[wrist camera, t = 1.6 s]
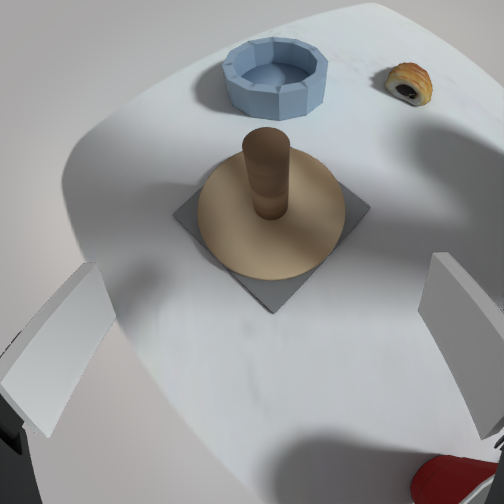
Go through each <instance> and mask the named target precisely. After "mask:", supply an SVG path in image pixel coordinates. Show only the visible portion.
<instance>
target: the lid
mask: <svg viewBox="0 0 504 504" xmlns="http://www.w3.org/2000/svg"><path fill="white" fill-rule="evenodd" d="M242 149H243V151H242V152H240V153H237V154H235V155H233V156H232V157H230V158H228V159H227V160H226V161H224V162H223V163H222V164H220V165H219V166H218V167H217V168H216V169H215V170H214V171H213V173H212V174H211V175H210V176H209V178H208V179H207V181H206V183H205V184H204V187H203V189H202V191H201V194H200V197H199V202H198V208H197V217H198V224H199V228H200V232H201V235H202V237H203V239H204V241H205V243H206V245H207V246H208V248H209V249H210V251H211V252H212V254H213V255H214V256H215V257H216V258H217V259H218V260H219V261H220V262H221V263H222V264H223V265H225V266H226V267H227V268H229V269H230V270H232V271H234V272H236V273H238V274H240V275H242V276H245V277H248V278H251V279H256V280H262V281H279V280H286V279H290V278H294V277H297V276H300V275H302V274H304V273H306V272H308V271H310V270H312V269H313V268H315V267H316V266H318V265H319V264H320V263H321V262H322V261H323V260H324V259H325V258H326V257H327V256H328V255H329V254H330V253H331V251H332V250H333V248H334V247H335V245H336V243H337V241H338V239H339V237H340V235H341V232H342V230H343V226H344V221H345V202H344V197H343V194H342V191H341V188H340V186H339V184H338V182H337V180H336V179H335V177H334V176H333V174H332V173H331V172H330V171H329V170H328V169H327V168H326V166H325V165H323V164H322V163H321V162H320V161H318V160H317V159H315V158H314V157H312V156H311V155H309V154H307V153H305V152H302V151H300V150H297V149H293V148H290V141H289V139H288V137H287V136H286V134H285V133H283V132H282V131H280V130H278V129H276V128H271V127H262V128H258V129H255V130H253V131H251V132H250V133H249V134H247V136H246V137H245V138H244V140H243V143H242Z"/></svg>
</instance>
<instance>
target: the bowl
mask: <svg viewBox="0 0 504 504" xmlns="http://www.w3.org/2000/svg"><path fill="white" fill-rule="evenodd" d="M327 68H328V60H327V59H326V58H325V57H324V56H323V54H322V53H321V52H320V51H319V50H318V49H317V48H316V47H314V46H311V45H309V44H307V43H304V42H302V41H300V40H297V39H289V38H279V37H269V38H263V39H257V40H252V41H248V42H246V43H244V44H242V45H240V46H239V47H237V48H235V49H233V50H231V51H230V52H229V54H228V55H227V57H226V59H225V60H224V62H223V64H222V69H223V73H224V78H225V83H226V87H227V91H228V94H229V96H230V99H231V102H232V104H233V106H234V107H236V108H238V109H239V110H241V111H243V112H244V113H246V114H248V115H249V116H251V117H255V118H263V119H270V120H277V121H281V120H285V119H290V118H295V117H300V116H305V115H307V114H308V113H310V112H311V111H312V110H313V109H315V108H316V107H317V106H319V105H320V104H321V103H323V97H324V91H325V85H326V77H327Z"/></svg>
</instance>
